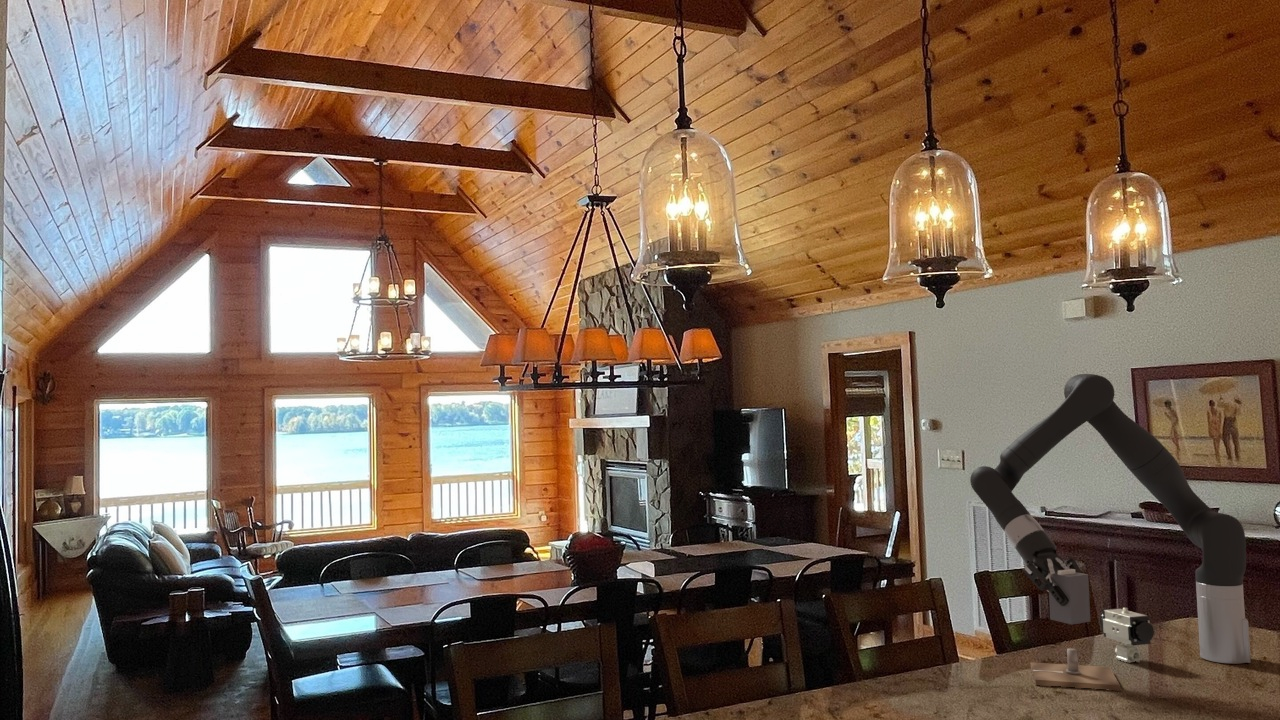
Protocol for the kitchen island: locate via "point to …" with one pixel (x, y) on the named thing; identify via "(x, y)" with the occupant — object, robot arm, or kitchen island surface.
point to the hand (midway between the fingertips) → (1076, 602)
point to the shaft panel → (1074, 674)
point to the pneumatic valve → (1126, 632)
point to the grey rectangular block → (1071, 598)
